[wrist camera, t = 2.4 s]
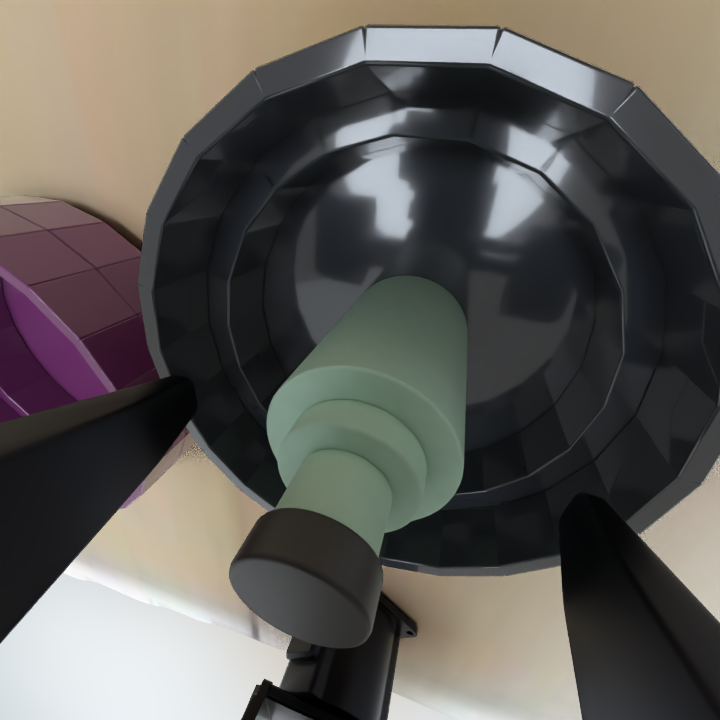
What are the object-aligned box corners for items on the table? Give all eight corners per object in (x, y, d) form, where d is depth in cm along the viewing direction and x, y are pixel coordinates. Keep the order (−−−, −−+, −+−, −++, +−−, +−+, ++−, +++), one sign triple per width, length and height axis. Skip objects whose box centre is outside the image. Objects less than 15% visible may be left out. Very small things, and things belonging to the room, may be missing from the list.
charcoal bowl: (733, 366, 11) (912, 501, 6) (391, 500, 18) (367, 602, 14) (448, -73, 8) (419, -364, 4) (188, 299, 16) (79, 349, 11)
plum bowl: (275, 369, 16) (202, 443, 12) (160, 471, 24) (91, 538, 19) (16, 111, 13) (-200, 84, 9) (-20, 319, 21) (-146, 358, 17)
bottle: (493, 344, 12) (535, 693, 4) (400, 399, 14) (309, 690, 6) (414, 247, 11) (267, 442, 3) (329, 322, 13) (121, 544, 5)
